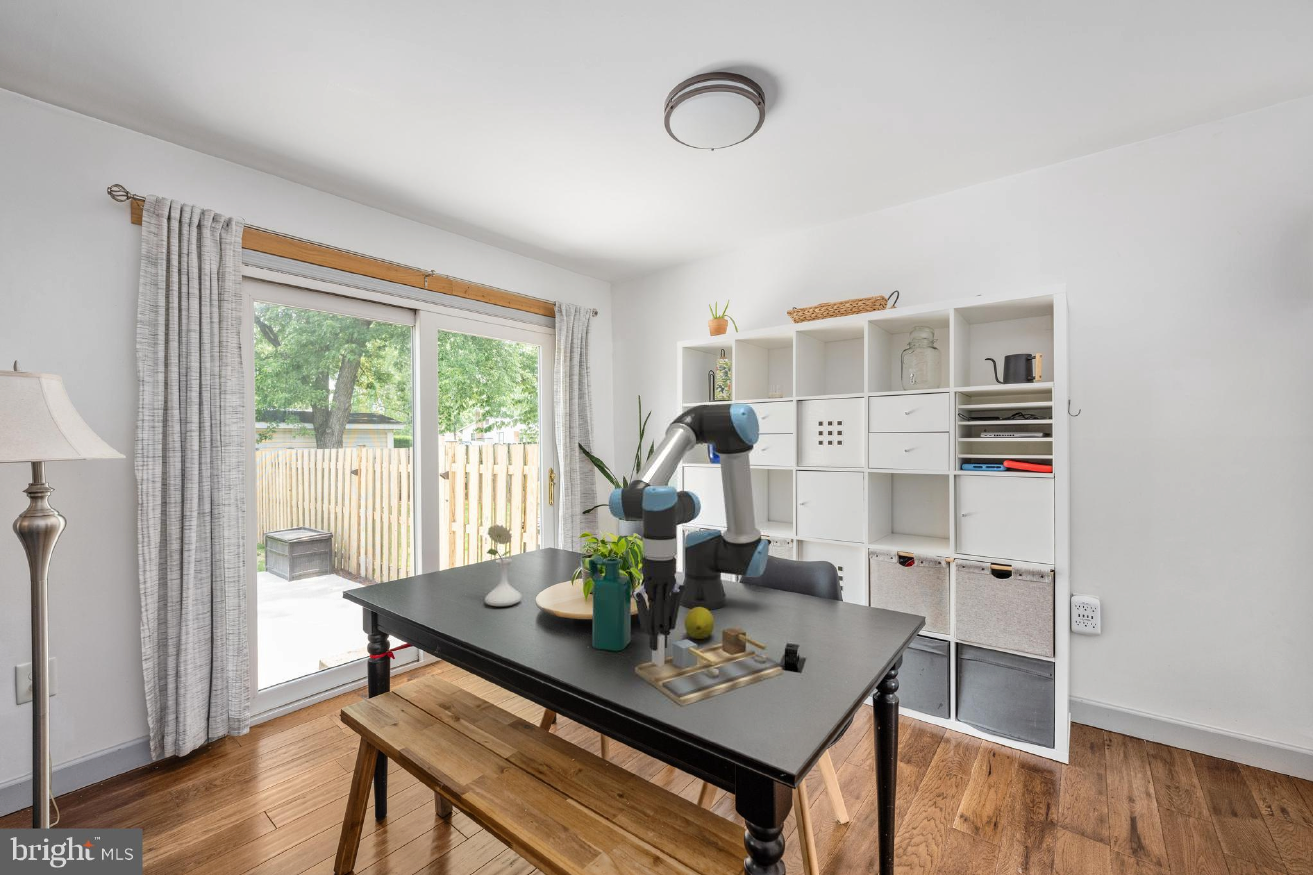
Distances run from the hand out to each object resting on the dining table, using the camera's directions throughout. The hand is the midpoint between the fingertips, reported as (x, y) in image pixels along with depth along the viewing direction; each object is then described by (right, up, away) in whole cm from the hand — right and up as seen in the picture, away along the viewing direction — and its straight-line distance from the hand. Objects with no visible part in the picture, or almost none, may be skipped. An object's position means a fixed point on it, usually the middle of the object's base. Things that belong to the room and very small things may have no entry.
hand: (658, 663), depth 119 cm
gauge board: (+11, -3, +3) cm, 12 cm away
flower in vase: (-50, -3, +53) cm, 72 cm away
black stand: (+32, -4, +9) cm, 33 cm away
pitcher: (-13, -3, +20) cm, 23 cm away
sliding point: (+8, -2, +1) cm, 9 cm away
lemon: (+11, -4, +24) cm, 27 cm away
